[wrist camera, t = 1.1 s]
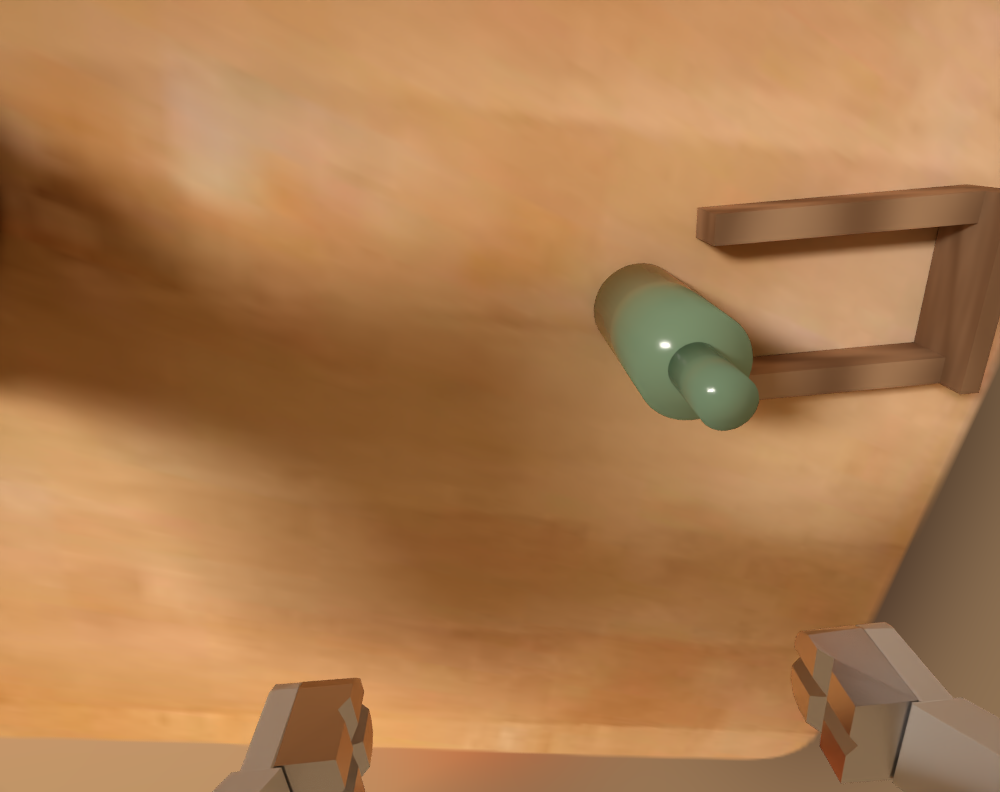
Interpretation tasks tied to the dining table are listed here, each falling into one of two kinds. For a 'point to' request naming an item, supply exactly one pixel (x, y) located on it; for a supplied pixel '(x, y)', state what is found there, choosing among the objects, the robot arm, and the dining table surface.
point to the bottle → (677, 347)
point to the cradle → (947, 300)
